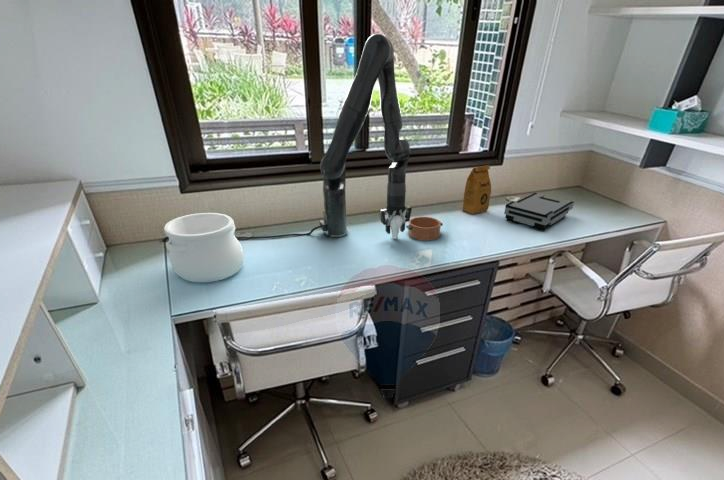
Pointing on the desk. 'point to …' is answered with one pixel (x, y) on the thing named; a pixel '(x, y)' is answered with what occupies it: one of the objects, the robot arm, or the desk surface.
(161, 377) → the desk surface
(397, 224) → the lightbulb
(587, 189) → the desk surface
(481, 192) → the coffee package
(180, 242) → the pot
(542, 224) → the game console
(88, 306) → the desk surface
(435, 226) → the copper pot
